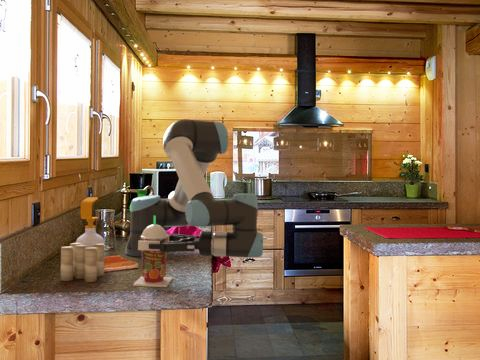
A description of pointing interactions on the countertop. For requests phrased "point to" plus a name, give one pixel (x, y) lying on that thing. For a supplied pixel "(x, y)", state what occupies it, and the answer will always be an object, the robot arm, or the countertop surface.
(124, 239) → the countertop surface
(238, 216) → the robot arm
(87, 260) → the spacer posts
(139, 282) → the plate
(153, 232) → the smoothie
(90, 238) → the soap bottle
